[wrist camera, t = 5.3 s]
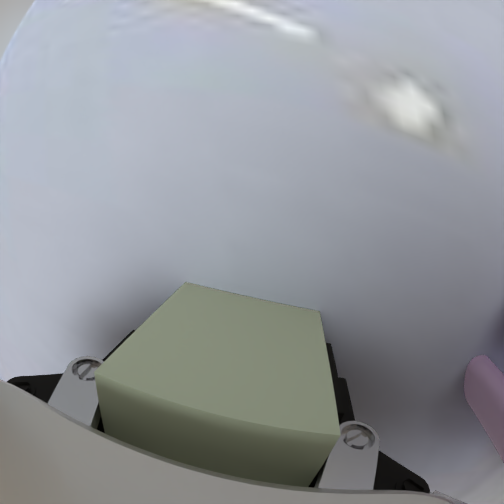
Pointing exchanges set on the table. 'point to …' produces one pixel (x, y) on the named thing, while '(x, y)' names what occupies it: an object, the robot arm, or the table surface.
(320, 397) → the brick sage
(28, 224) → the table surface
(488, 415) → the clip
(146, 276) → the table surface
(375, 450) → the robot arm
